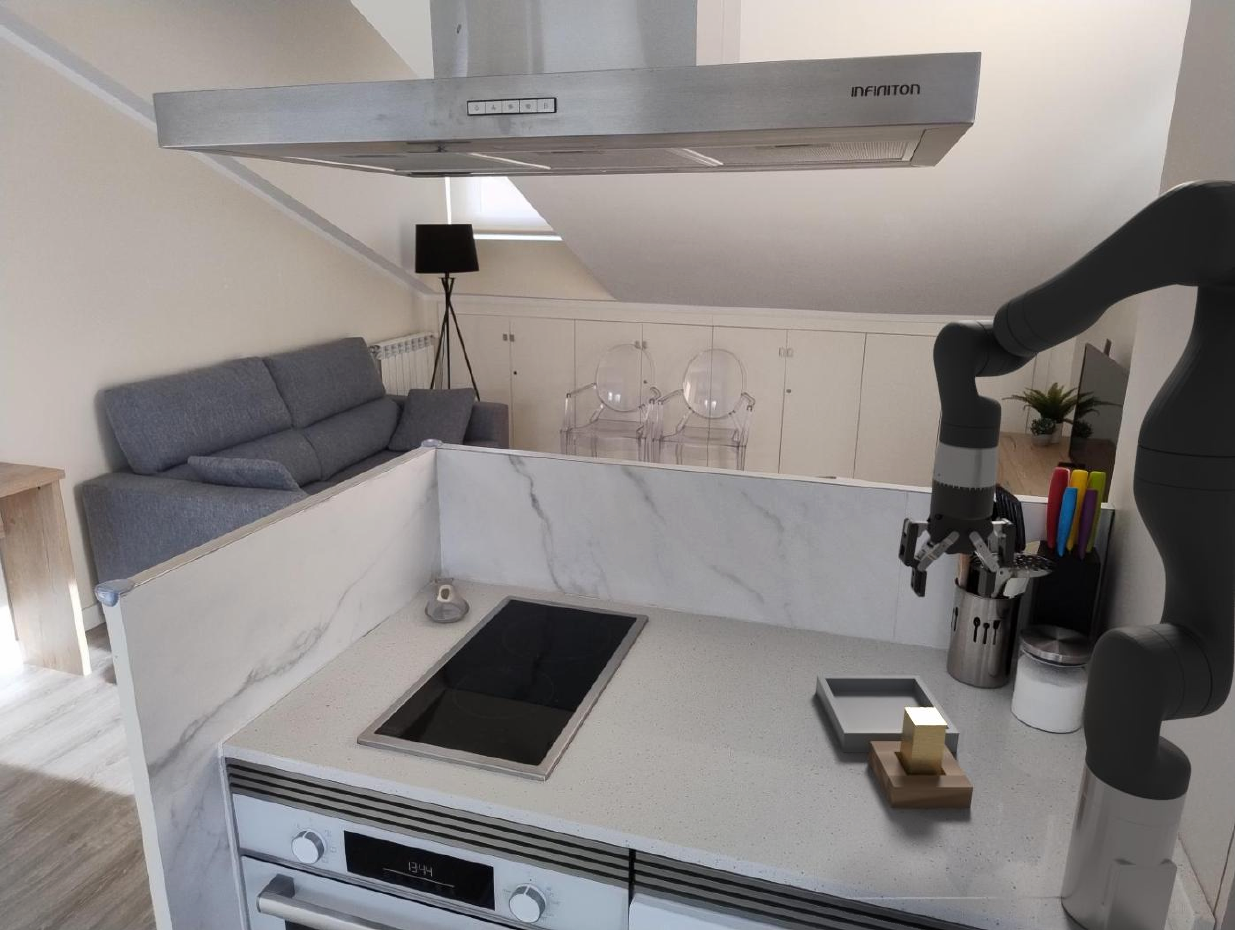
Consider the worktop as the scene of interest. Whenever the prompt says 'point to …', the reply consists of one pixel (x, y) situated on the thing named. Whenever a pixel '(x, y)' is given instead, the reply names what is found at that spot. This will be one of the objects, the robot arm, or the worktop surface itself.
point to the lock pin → (922, 741)
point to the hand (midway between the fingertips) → (951, 595)
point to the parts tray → (875, 708)
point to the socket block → (919, 780)
